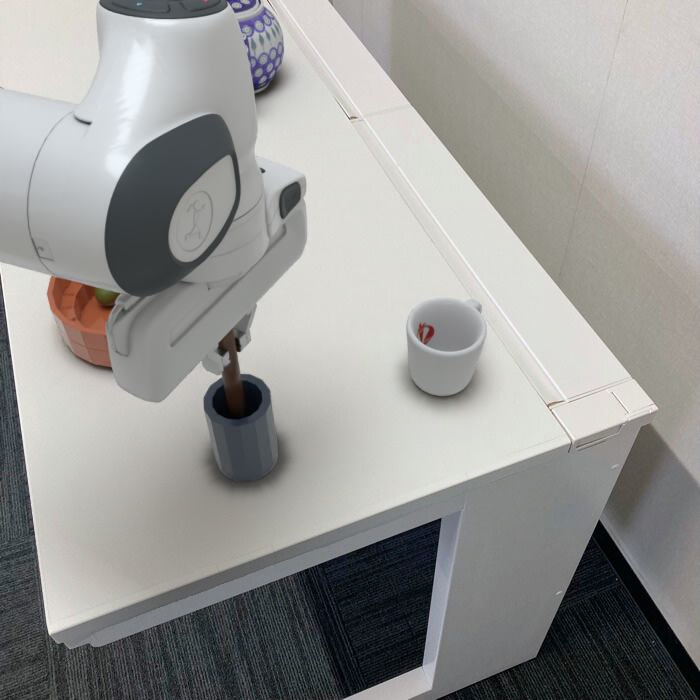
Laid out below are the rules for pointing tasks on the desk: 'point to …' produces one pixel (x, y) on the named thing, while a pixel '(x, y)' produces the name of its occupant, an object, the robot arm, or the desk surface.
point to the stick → (233, 379)
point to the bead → (105, 296)
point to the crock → (242, 431)
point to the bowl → (80, 319)
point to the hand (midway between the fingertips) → (228, 355)
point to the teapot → (260, 40)
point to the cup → (444, 344)
